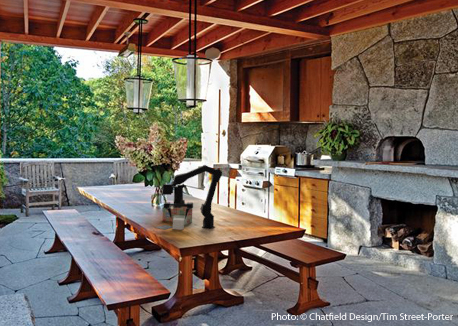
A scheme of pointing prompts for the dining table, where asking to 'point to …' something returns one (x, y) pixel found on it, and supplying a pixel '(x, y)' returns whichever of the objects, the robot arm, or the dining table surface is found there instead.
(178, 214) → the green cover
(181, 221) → the white cover
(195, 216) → the dining table surface
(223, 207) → the dining table surface
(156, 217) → the dining table surface
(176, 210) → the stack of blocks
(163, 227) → the slate pad
